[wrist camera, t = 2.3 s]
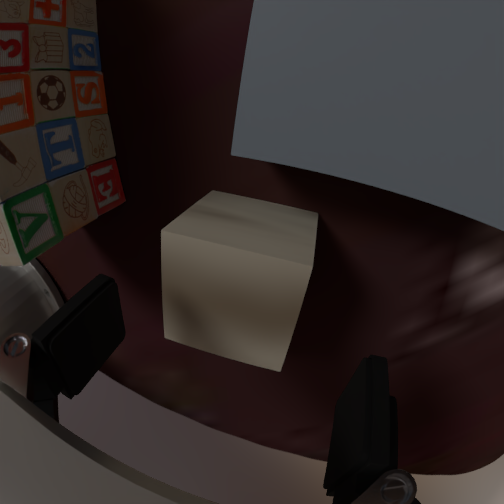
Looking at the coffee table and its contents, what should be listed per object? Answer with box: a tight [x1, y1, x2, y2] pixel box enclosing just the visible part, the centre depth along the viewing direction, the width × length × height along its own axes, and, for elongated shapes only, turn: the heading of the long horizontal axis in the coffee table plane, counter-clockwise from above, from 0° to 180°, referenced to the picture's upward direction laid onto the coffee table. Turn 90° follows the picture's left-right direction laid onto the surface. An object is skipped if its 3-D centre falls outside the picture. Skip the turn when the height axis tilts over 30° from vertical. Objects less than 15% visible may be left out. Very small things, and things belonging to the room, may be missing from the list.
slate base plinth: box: [231, 0, 504, 231], centre depth 9 cm, size 14×14×4 cm
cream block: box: [161, 190, 318, 372], centre depth 15 cm, size 6×6×6 cm
